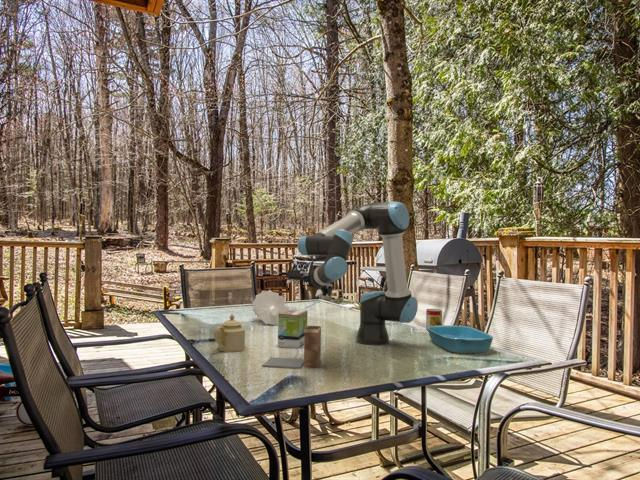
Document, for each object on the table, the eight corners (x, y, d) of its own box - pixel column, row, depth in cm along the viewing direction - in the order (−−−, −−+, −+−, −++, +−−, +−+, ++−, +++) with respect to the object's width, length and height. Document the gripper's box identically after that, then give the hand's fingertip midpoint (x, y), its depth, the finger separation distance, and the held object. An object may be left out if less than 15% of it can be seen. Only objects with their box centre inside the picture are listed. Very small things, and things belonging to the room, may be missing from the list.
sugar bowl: (240, 354, 191) (240, 317, 191) (213, 354, 191) (213, 317, 191) (246, 346, 206) (247, 312, 206) (221, 346, 206) (222, 311, 206)
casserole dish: (421, 338, 228) (421, 323, 228) (465, 338, 231) (466, 323, 231) (449, 357, 192) (449, 339, 192) (501, 356, 194) (502, 339, 194)
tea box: (299, 348, 203) (299, 314, 203) (277, 347, 205) (277, 313, 205) (307, 341, 218) (307, 309, 218) (286, 340, 220) (286, 308, 220)
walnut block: (320, 363, 179) (321, 326, 179) (317, 368, 172) (318, 329, 172) (307, 362, 179) (307, 325, 179) (303, 367, 172) (304, 328, 173)
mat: (306, 360, 182) (306, 359, 182) (299, 368, 170) (300, 367, 170) (271, 358, 184) (271, 357, 184) (262, 366, 172) (262, 365, 172)
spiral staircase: (266, 333, 255) (258, 323, 279) (295, 318, 259) (285, 310, 283) (252, 304, 252) (245, 296, 276) (281, 289, 256) (272, 283, 280)
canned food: (444, 334, 239) (445, 310, 239) (431, 334, 237) (431, 311, 237) (436, 331, 247) (436, 308, 247) (423, 332, 244) (423, 308, 244)
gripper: (289, 271, 173) (272, 283, 192) (347, 298, 179) (326, 307, 198) (296, 253, 177) (279, 266, 195) (353, 280, 182) (331, 291, 201)
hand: (302, 287), depth 197 cm, fingers open, 13 cm apart
